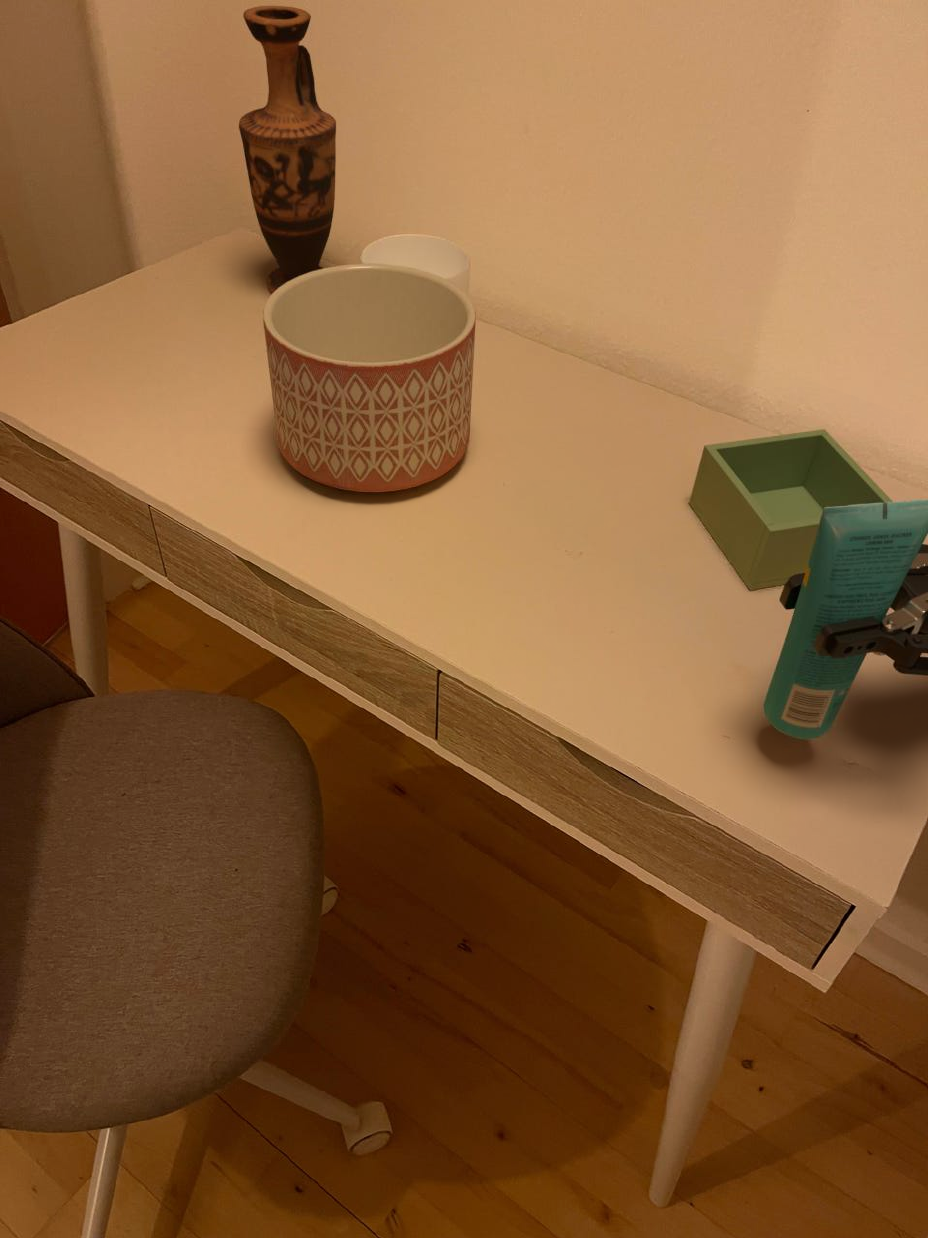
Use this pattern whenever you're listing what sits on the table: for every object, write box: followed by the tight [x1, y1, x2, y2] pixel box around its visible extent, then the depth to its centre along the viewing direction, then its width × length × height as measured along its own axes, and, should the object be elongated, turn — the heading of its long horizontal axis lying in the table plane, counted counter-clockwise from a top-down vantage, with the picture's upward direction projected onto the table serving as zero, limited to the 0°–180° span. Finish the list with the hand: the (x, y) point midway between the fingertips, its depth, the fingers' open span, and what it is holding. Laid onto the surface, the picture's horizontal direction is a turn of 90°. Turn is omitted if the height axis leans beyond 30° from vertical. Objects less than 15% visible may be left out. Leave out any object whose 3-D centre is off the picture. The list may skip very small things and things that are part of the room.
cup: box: [359, 233, 471, 298], centre depth 104 cm, size 12×12×12 cm
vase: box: [238, 5, 337, 294], centre depth 109 cm, size 11×11×30 cm
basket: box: [688, 428, 894, 591], centre depth 86 cm, size 13×13×7 cm
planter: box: [262, 263, 477, 493], centre depth 90 cm, size 19×19×15 cm
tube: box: [763, 498, 928, 740], centre depth 62 cm, size 7×5×19 cm, turn 104°
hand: (803, 618), depth 60 cm, fingers closed on tube, 3 cm apart
